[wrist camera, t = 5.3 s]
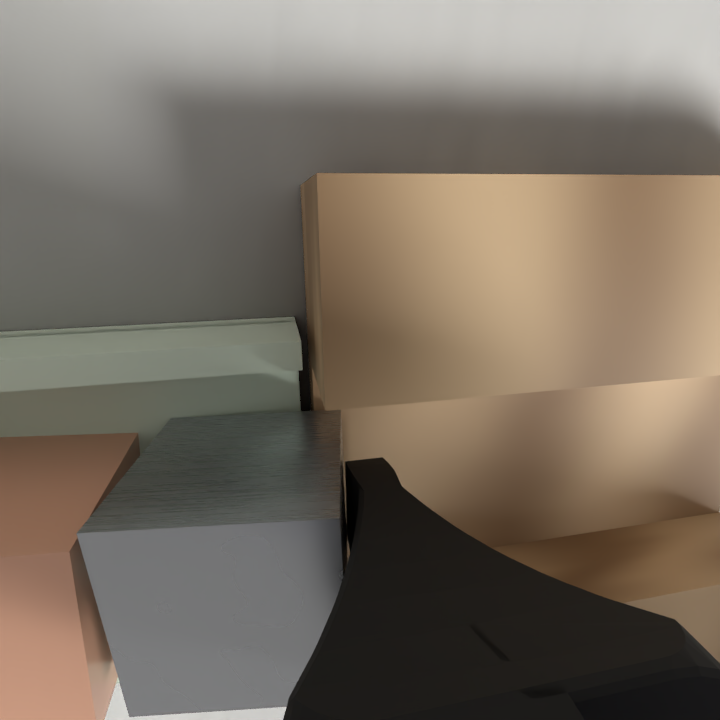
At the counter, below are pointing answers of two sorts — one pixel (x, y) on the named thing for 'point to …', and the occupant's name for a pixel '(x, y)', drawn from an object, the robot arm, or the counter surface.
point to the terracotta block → (54, 574)
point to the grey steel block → (221, 560)
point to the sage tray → (145, 375)
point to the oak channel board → (546, 453)
